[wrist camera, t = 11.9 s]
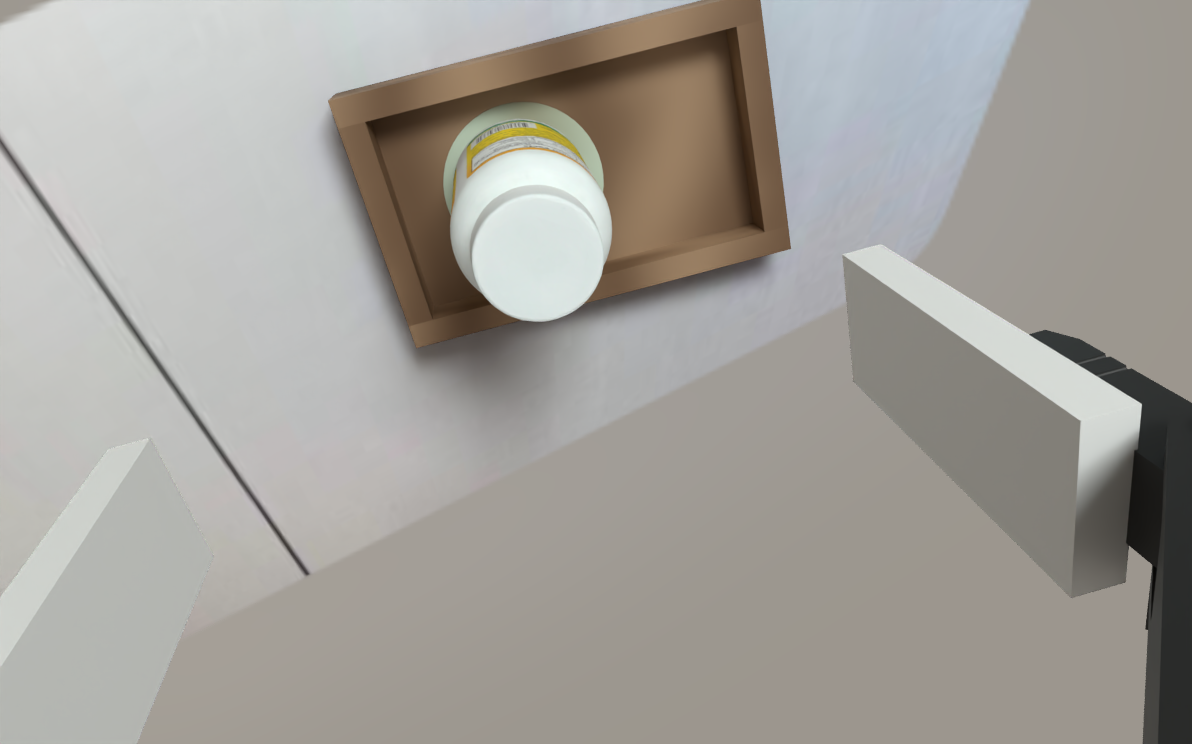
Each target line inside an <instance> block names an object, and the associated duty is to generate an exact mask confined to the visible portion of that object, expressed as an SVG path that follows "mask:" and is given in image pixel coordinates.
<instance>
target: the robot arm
mask: <svg viewBox="0 0 1192 744" xmlns="http://www.w3.org/2000/svg"><path fill="white" fill-rule="evenodd" d="M842 256H843V267H844V279H845V290H846V302H847V313H848V325H849V336H850V348H851V360H852V371H853V382H854V383H855V384H856V385H857V386H858V387H859V388H860V389H861V390H862V391H863V392H864V393H865V394H866V395H867V396H868V397H869V398H870V399H871V400H872V401H874V403H876V405H877V406H879V408H880V409H882V411H884V413H885V414H886V415H888V416H889V418H891V419H892V420H893V422H895V423H896V424H897V425H898V426H899V427H900V428H901V429H902V430H903V431H904V432H905V433H906V434H907V435H908V436H909V437H910V438H911V439H912V440H913V441H914V442H915V443H916V444H917V445H918V446H919V447H920V448H921V449H922V450H923V451H924V452H925V453H926V454H927V455H928V456H929V457H930V458H931V459H932V460H933V461H934V462H935V463H936V464H937V465H938V466H939V467H940V468H941V469H942V470H943V471H944V472H945V473H946V474H947V475H948V476H949V477H950V478H951V479H952V480H953V481H954V482H955V483H956V484H957V485H958V486H959V487H960V488H961V489H962V490H963V491H964V492H965V493H966V494H967V495H968V496H969V497H970V498H971V499H972V500H973V501H974V502H975V503H976V504H977V505H978V506H979V507H980V508H981V509H982V510H983V511H984V512H985V513H986V514H987V515H988V516H989V517H990V518H991V519H992V520H993V521H994V522H995V523H996V524H997V525H998V526H999V527H1000V528H1001V529H1002V530H1003V531H1004V532H1005V533H1006V534H1007V535H1008V536H1009V537H1010V538H1011V539H1012V540H1013V541H1014V542H1016V544H1017V545H1018V546H1020V548H1021V549H1022V550H1023V551H1024V552H1025V553H1026V554H1027V555H1028V556H1029V557H1030V558H1031V559H1032V560H1033V561H1034V562H1035V563H1036V564H1037V565H1038V566H1039V567H1040V568H1041V569H1042V570H1043V571H1044V572H1045V573H1046V574H1047V575H1048V576H1049V577H1050V578H1051V579H1052V580H1053V581H1054V582H1055V583H1056V584H1057V585H1058V586H1060V587H1061V588H1062V590H1063V591H1064V592H1065V593H1066V594H1068V595H1069V597H1071V598H1073V597H1076V596H1080V595H1083V594H1087V593H1090V592H1094V591H1097V590H1101V589H1104V588H1107V587H1111V586H1115V585H1118V584H1121V583H1125V582H1126V571H1127V560H1128V550H1129V546H1130V547H1132V548H1133V549H1134V550H1135V551H1137V552H1138V553H1139V554H1140V555H1141V556H1142V557H1144V558H1145V559H1146V560H1147V561H1149V562H1150V563H1151V564H1152V575H1151V583H1150V593H1149V601H1148V610H1147V619H1146V630H1148V645H1147V664H1146V686H1145V706H1144V707H1145V708H1144V728H1143V744H1192V403H1191V402H1189V401H1188V400H1186V399H1184V398H1182V397H1180V396H1179V395H1177V394H1175V393H1173V392H1172V391H1170V390H1168V389H1166V388H1165V387H1163V386H1161V385H1159V384H1158V383H1156V382H1154V381H1152V380H1150V379H1149V378H1147V377H1145V376H1144V375H1142V374H1140V373H1138V372H1137V371H1135V370H1133V369H1127V368H1126V365H1124V364H1123V363H1121V362H1119V361H1117V360H1116V359H1114V358H1112V357H1106V355H1105V353H1103V352H1101V351H1100V350H1098V349H1096V348H1094V347H1093V346H1091V345H1089V344H1087V343H1085V342H1084V341H1082V340H1080V339H1077V338H1074V337H1070V336H1066V335H1062V334H1059V333H1055V332H1051V331H1047V330H1043V331H1040V332H1036V333H1032V334H1029V335H1028V334H1027V333H1025V332H1023V331H1022V330H1020V329H1019V328H1017V327H1015V326H1014V325H1012V324H1010V323H1009V322H1007V321H1006V320H1004V319H1002V318H1001V317H999V316H997V315H996V314H994V313H992V312H991V311H989V310H988V309H986V308H984V307H982V306H981V305H979V304H978V303H976V302H974V301H973V300H971V299H970V298H968V297H966V296H965V295H963V294H961V293H960V292H958V291H956V290H955V289H953V288H952V287H950V286H948V285H947V284H945V283H943V282H942V281H940V280H939V279H937V278H935V277H934V276H932V275H930V274H929V273H927V272H925V271H924V270H922V269H921V268H919V267H917V266H916V265H914V264H912V263H911V262H909V261H908V260H906V259H904V258H903V257H901V256H899V255H898V254H896V253H894V252H893V251H891V250H890V249H888V248H886V247H885V246H883V245H881V244H880V245H877V246H873V247H869V248H865V249H861V250H858V251H854V252H850V253H846V254H843V255H842ZM213 557H214V555H213V553H212V551H211V550H210V548H209V546H208V544H207V542H206V540H205V538H204V537H203V535H202V533H201V531H200V529H199V527H198V525H197V523H196V522H195V520H194V518H193V516H192V514H191V512H190V510H189V509H188V507H187V505H186V503H185V501H184V499H183V497H182V495H181V494H180V492H179V490H178V488H177V486H176V484H175V482H174V481H173V479H172V477H171V475H170V473H169V471H168V469H167V467H166V466H165V464H164V462H163V460H162V458H161V456H160V454H159V453H158V451H157V449H156V447H155V445H154V443H153V441H152V439H151V438H148V439H144V440H140V441H136V442H133V443H129V444H125V445H121V446H118V447H114V448H110V449H108V450H107V452H106V453H105V454H104V456H103V457H102V458H101V460H100V461H99V463H98V464H97V465H96V467H95V468H94V469H93V471H92V472H91V474H90V475H89V476H88V478H87V479H86V480H85V482H84V483H83V485H82V486H81V487H80V489H79V490H78V491H77V493H76V494H75V496H74V497H73V498H72V500H71V501H70V502H69V504H68V505H67V507H66V508H65V509H64V511H63V512H62V513H61V515H60V516H59V518H58V519H57V520H56V522H55V523H54V524H53V526H52V527H51V528H50V530H49V531H48V533H47V534H46V535H45V537H44V538H43V539H42V541H41V542H40V544H39V545H38V546H37V548H36V549H35V550H34V552H33V553H32V555H31V556H30V557H29V559H28V560H27V561H26V563H25V564H24V566H23V567H22V568H21V570H20V571H19V572H18V574H17V575H16V577H15V578H14V579H13V581H12V582H11V583H10V585H9V586H8V588H7V589H6V590H5V592H4V593H3V594H2V596H1V597H0V744H137V742H138V740H139V738H140V735H141V733H142V730H143V728H144V725H145V723H146V720H147V718H148V716H149V713H150V711H151V708H152V706H153V703H154V701H155V698H156V696H157V694H158V691H159V689H160V686H161V684H162V681H163V679H164V676H165V674H166V672H167V669H168V666H169V664H170V662H171V659H172V657H173V654H174V652H175V649H176V647H177V645H178V642H179V640H180V637H181V635H182V633H183V630H184V628H185V625H186V623H187V620H188V618H189V615H190V613H191V611H192V608H193V606H194V603H195V601H196V598H197V596H198V593H199V591H200V589H201V586H202V584H203V581H204V579H205V576H206V574H207V572H208V569H209V567H210V564H211V562H212V559H213Z"/></svg>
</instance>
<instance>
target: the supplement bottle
mask: <svg viewBox="0 0 1192 744" xmlns="http://www.w3.org/2000/svg"><path fill="white" fill-rule="evenodd" d="M450 237H451V244H452V249H453V252H454V255H455V258H456V261H457V263H458V265H459V267H460V269H461V271H462V272H463V274H464V275H465V277H466V278H467V279H468V281H469V282H470V283H471V284H472V285H473V286H474V287H475V288H476V289H477V290H478V291H479V292H481V293H482V294H483V295H484V296H485V298H486V299H487V300H488V301H489V302H490V303H491V304H492V305H493V306H494V307H496V308H497V309H498V310H500V311H501V312H503V313H505V314H507V315H509V316H511V317H514V318H517V319H520V320H524V321H532V322H544V321H551V320H555V319H559V318H561V317H564V316H566V315H568V314H570V313H572V312H573V311H575V310H576V309H578V308H579V307H580V306H581V305H583V304H584V303H585V302H586V301H587V300H588V299H589V297H590V296H591V295H592V293H593V292H594V290H595V289H596V287H597V285H598V283H599V280H600V278H601V276H602V271H603V266H604V264H605V262H606V260H607V257H608V254H609V250H610V246H611V239H612V221H611V215H610V210H609V207H608V204H607V201H606V198H605V196H604V194H603V192H602V190H601V188H600V186H599V185H598V183H597V181H596V180H595V178H594V176H593V175H592V173H591V172H590V170H589V169H588V167H587V165H586V164H585V162H584V160H583V158H582V157H581V155H580V153H579V152H578V150H577V149H576V147H575V146H574V145H573V143H572V142H571V141H570V140H569V139H568V138H567V137H566V136H565V135H563V134H562V133H561V132H560V131H558V130H556V129H555V128H553V127H551V126H549V125H547V124H545V123H542V122H538V121H535V120H529V119H511V120H506V121H502V122H498V123H495V124H493V125H491V126H489V127H487V128H485V129H484V130H482V131H481V132H480V133H478V134H477V135H476V136H475V137H474V138H473V139H472V140H471V141H470V142H469V143H468V144H467V145H466V147H465V148H464V150H463V152H462V153H461V155H460V157H459V160H458V162H457V165H456V169H455V174H454V179H453V195H452V209H451V218H450Z"/></svg>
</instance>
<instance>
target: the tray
mask: <svg viewBox="0 0 1192 744" xmlns="http://www.w3.org/2000/svg"><path fill="white" fill-rule="evenodd" d="M328 102H329V105H330V108H331V111H332V114H333V116H334V119H335V122H336V125H337V128H338V130H339V133H340V136H341V139H342V142H343V144H344V147H345V150H346V153H347V156H348V158H349V161H350V164H351V167H352V170H353V172H354V175H355V178H356V181H357V184H358V186H359V189H360V192H361V195H362V198H363V200H364V203H365V206H366V209H367V212H368V214H369V217H370V220H371V223H372V225H373V228H374V231H375V234H376V237H377V239H378V242H379V245H380V248H381V251H382V253H383V256H384V259H385V262H386V265H387V267H388V270H389V273H390V276H391V279H392V281H393V284H394V287H395V290H396V293H397V295H398V298H399V301H400V304H401V307H402V309H403V312H404V315H405V318H406V321H407V323H408V326H409V329H410V332H411V335H412V337H413V340H414V343H415V346H416V348H419V347H423V346H426V345H430V344H434V343H438V342H442V341H445V340H449V339H453V338H457V337H460V336H464V335H468V334H472V333H475V332H479V331H483V330H487V329H491V328H494V327H498V326H502V325H506V324H509V323H513V322H517V321H521V320H520V319H517V318H514V317H511V316H509V315H507V314H505V313H503V312H501V311H500V310H498V309H497V308H496V307H494V306H493V305H492V304H491V303H490V302H489V301H488V300H487V299H486V298H485V296H484V295H483V294H482V293H481V292H479V291H478V290H477V289H476V288H475V287H474V286H473V285H472V284H471V283H470V282H469V281H468V279H467V278H466V277H465V275H464V274H463V272H462V271H461V269H460V267H459V265H458V263H457V261H456V258H455V255H454V252H453V249H452V244H451V237H450V218H451V209H452V195H453V179H454V174H455V169H456V165H457V162H458V160H459V157H460V155H461V153H462V152H463V150H464V148H465V147H466V145H467V144H468V143H469V142H470V141H471V140H472V139H473V138H474V137H475V136H476V135H477V134H478V133H480V132H481V131H482V130H484V129H485V128H487V127H489V126H491V125H493V124H495V123H498V122H502V121H506V120H511V119H529V120H535V121H538V122H542V123H545V124H547V125H549V126H551V127H553V128H555V129H556V130H558V131H560V132H561V133H562V134H563V135H565V136H566V137H567V138H568V139H569V140H570V141H571V142H572V143H573V145H574V146H575V147H576V149H577V150H578V152H579V153H580V155H581V157H582V158H583V160H584V162H585V164H586V165H587V167H588V169H589V170H590V172H591V173H592V175H593V176H594V178H595V180H596V181H597V183H598V185H599V186H600V188H601V190H602V192H603V194H604V196H605V198H606V201H607V204H608V207H609V210H610V215H611V221H612V239H611V246H610V250H609V254H608V257H607V260H606V262H605V264H604V266H603V271H602V276H601V278H600V280H599V283H598V285H597V287H596V289H595V290H594V292H593V293H592V295H591V296H590V297H589V299H588V300H587V301H586V302H585V303H589V302H592V301H596V300H600V299H604V298H607V297H611V296H615V295H619V294H622V293H626V292H630V291H634V290H637V289H641V288H645V287H649V286H653V285H656V284H660V283H664V282H668V281H671V280H675V279H679V278H683V277H686V276H690V275H694V274H698V273H702V272H705V271H709V270H713V269H717V268H720V267H724V266H728V265H732V264H735V263H739V262H743V261H747V260H751V259H754V258H758V257H762V256H766V255H769V254H773V253H777V252H781V251H784V250H788V249H791V246H790V238H789V229H788V221H787V213H786V205H785V197H784V189H783V181H782V173H781V164H780V156H779V148H778V140H777V132H776V124H775V116H774V108H773V99H772V91H771V83H770V75H769V67H768V59H767V51H766V43H765V35H764V26H763V18H762V10H761V2H760V0H701V1H697V2H693V3H690V4H686V5H682V6H678V7H674V8H670V9H666V10H662V11H658V12H654V13H650V14H646V15H643V16H639V17H635V18H631V19H627V20H623V21H619V22H615V23H611V24H607V25H603V26H599V27H596V28H592V29H588V30H584V31H580V32H576V33H572V34H568V35H564V36H560V37H556V38H552V39H549V40H545V41H541V42H537V43H533V44H529V45H525V46H521V47H517V48H513V49H509V50H505V51H502V52H498V53H494V54H490V55H486V56H482V57H478V58H474V59H470V60H466V61H462V62H458V63H455V64H451V65H447V66H443V67H439V68H435V69H431V70H427V71H423V72H419V73H415V74H411V75H408V76H404V77H400V78H396V79H392V80H388V81H384V82H380V83H376V84H372V85H368V86H364V87H361V88H357V89H353V90H349V91H345V92H341V93H337V94H335V95H334V96H333V97H332V98H331V99H330V100H328ZM585 303H584V304H585Z"/></svg>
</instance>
